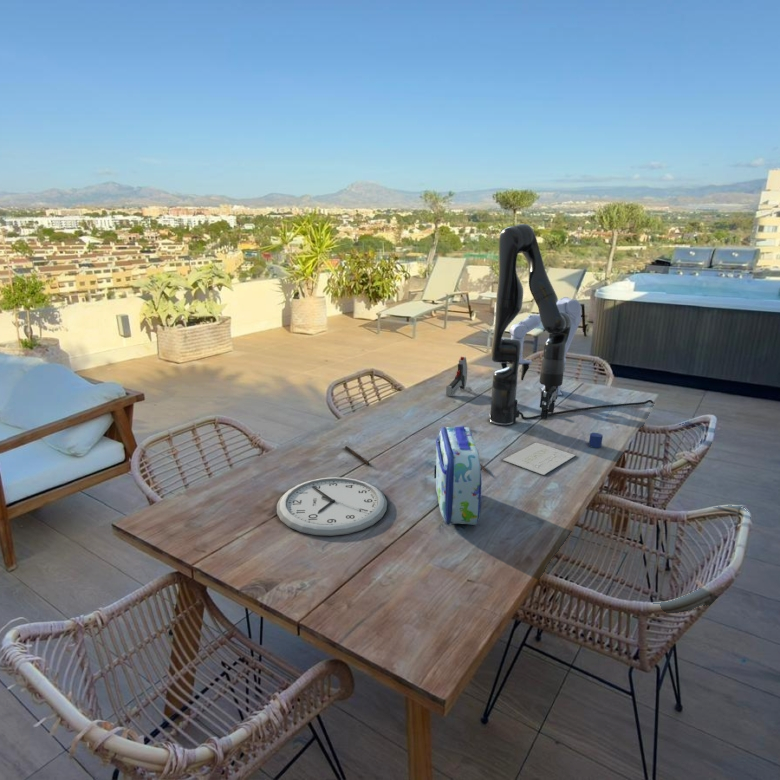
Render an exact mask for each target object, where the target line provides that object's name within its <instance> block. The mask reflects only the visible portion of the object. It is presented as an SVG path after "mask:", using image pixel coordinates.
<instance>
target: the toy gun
mask: <svg viewBox="0 0 780 780" xmlns="http://www.w3.org/2000/svg"><path fill="white" fill-rule="evenodd" d="M467 379H468V362H467V357H466V356H460V358H459V360H458V363H457V370H456V375H455V377H454V379H453V380H452V381H451V382H450V383H449V384H448V385H446V388H445V395H446V396H447V397H452V396H454V395H455V394H456V393H457V391H459V389H460V390H463V391H465V390H466V386H467Z"/></svg>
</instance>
